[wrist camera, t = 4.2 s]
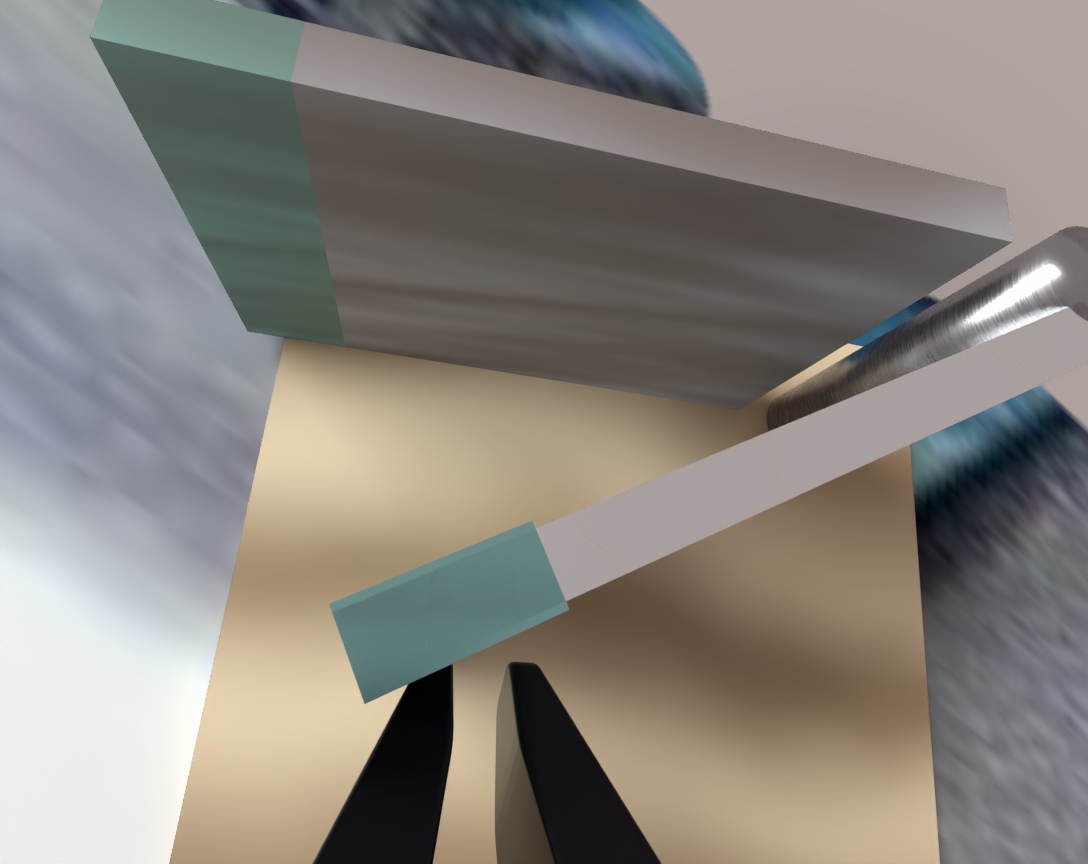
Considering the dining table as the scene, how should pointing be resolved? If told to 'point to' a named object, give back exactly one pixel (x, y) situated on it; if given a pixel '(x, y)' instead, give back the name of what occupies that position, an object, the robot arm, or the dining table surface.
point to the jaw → (738, 468)
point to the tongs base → (547, 429)
